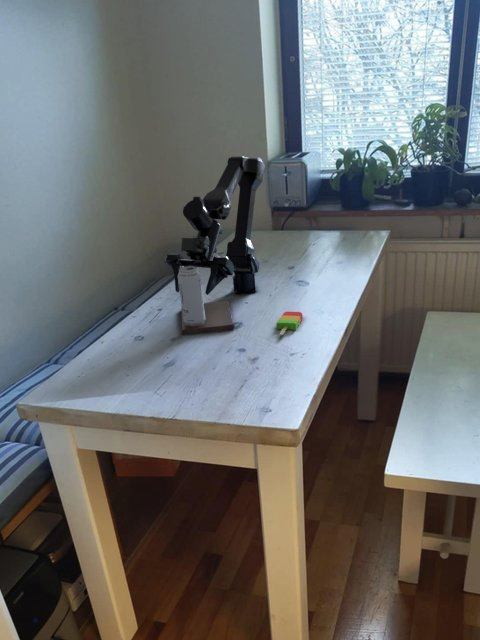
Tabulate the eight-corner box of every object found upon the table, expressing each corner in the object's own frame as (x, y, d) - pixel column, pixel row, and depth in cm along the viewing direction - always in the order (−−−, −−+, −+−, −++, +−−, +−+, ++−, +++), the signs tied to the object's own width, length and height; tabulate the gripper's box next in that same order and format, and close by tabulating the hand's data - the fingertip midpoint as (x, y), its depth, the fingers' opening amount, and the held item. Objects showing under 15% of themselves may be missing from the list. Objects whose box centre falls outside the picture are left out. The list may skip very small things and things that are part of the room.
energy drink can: (182, 321, 169) (174, 267, 161) (203, 317, 170) (197, 264, 162) (186, 328, 164) (178, 273, 156) (207, 324, 165) (201, 270, 157)
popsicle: (303, 317, 169) (303, 311, 168) (291, 338, 157) (290, 331, 156) (284, 317, 171) (284, 310, 170) (270, 337, 159) (270, 331, 158)
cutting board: (228, 305, 182) (227, 300, 181) (233, 329, 165) (233, 324, 164) (181, 310, 181) (181, 305, 180) (182, 335, 164) (182, 329, 164)
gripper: (163, 222, 161) (147, 276, 159) (225, 224, 154) (209, 280, 152) (181, 244, 172) (167, 295, 169) (240, 247, 165) (226, 300, 162)
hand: (191, 292), depth 163 cm, fingers open, 9 cm apart
